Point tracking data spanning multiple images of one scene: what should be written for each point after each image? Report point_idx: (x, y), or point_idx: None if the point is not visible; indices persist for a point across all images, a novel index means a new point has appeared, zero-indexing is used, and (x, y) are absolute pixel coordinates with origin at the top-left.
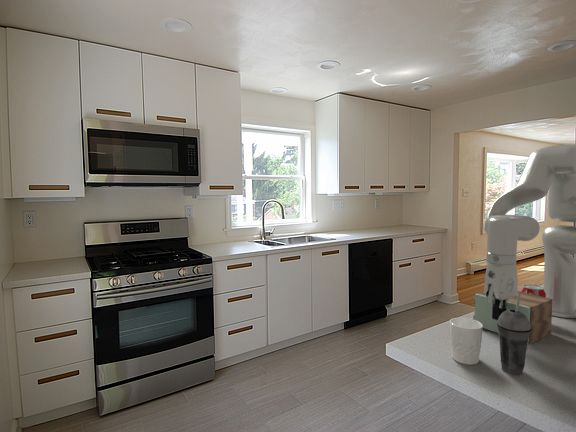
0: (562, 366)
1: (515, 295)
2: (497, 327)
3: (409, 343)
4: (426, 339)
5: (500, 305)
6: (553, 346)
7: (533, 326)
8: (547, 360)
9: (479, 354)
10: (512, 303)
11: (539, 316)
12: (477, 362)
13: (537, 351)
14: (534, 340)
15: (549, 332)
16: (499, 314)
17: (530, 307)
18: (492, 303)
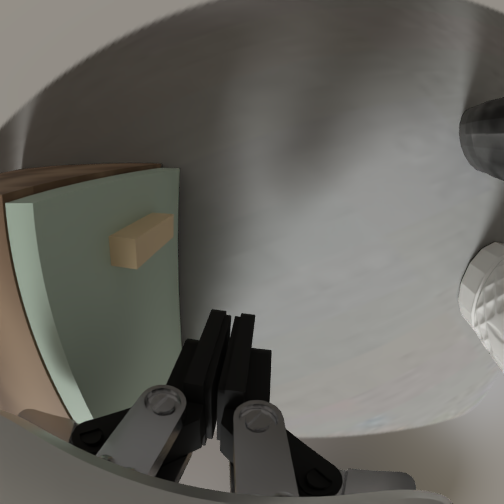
0: (303, 3)
1: (11, 424)
2: (171, 320)
3: (455, 404)
4: (414, 405)
5: (286, 437)
6: (114, 94)
7: (88, 169)
8: (294, 48)
9: (495, 254)
10: (62, 364)
11: (8, 178)
12: (500, 243)
13: (225, 105)
14: (120, 163)
15: (22, 169)
16: (266, 367)
17: (8, 202)
18: (395, 472)
